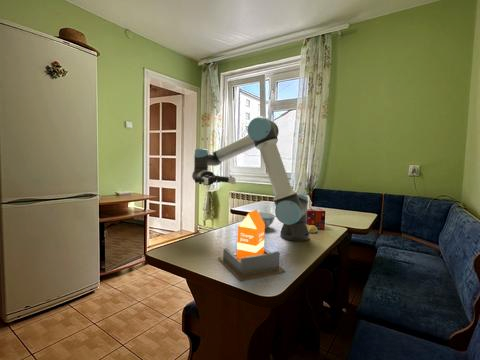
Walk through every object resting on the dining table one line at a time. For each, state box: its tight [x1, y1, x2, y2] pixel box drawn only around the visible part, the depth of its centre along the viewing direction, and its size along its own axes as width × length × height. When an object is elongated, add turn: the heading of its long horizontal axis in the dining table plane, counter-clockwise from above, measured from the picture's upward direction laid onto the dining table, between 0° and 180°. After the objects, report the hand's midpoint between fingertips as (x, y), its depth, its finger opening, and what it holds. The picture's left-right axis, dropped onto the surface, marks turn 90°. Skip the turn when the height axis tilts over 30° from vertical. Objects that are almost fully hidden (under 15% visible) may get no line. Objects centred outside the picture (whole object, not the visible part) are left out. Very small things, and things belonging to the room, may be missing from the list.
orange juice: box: [236, 209, 266, 260], centre depth 95 cm, size 8×9×20 cm
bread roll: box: [307, 224, 318, 234], centre depth 148 cm, size 8×9×4 cm
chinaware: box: [258, 211, 276, 229], centre depth 152 cm, size 15×15×8 cm
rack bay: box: [217, 247, 286, 282], centre depth 96 cm, size 20×18×7 cm
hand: (221, 181), depth 115 cm, fingers open, 13 cm apart
